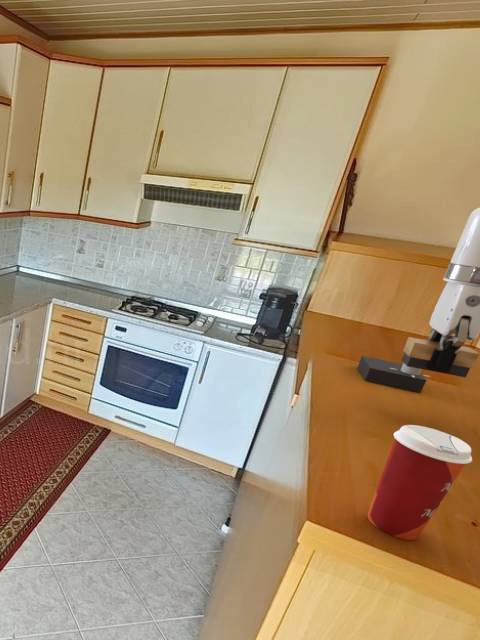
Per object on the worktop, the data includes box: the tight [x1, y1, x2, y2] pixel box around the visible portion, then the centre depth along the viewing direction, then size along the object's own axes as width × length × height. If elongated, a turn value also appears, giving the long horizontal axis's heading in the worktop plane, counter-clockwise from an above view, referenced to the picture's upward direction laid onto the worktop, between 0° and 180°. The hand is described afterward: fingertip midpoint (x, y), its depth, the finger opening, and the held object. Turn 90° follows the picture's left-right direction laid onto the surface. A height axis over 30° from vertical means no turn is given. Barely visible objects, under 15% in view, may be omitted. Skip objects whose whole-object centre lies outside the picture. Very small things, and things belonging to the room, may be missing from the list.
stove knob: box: [401, 362, 423, 375], centre depth 119 cm, size 4×4×5 cm
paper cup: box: [367, 424, 473, 541], centre depth 65 cm, size 8×8×14 cm
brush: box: [401, 336, 480, 378], centre depth 96 cm, size 10×4×5 cm, turn 61°
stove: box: [356, 355, 431, 394], centre depth 123 cm, size 12×11×4 cm
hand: (433, 365), depth 97 cm, fingers closed on brush, 4 cm apart
